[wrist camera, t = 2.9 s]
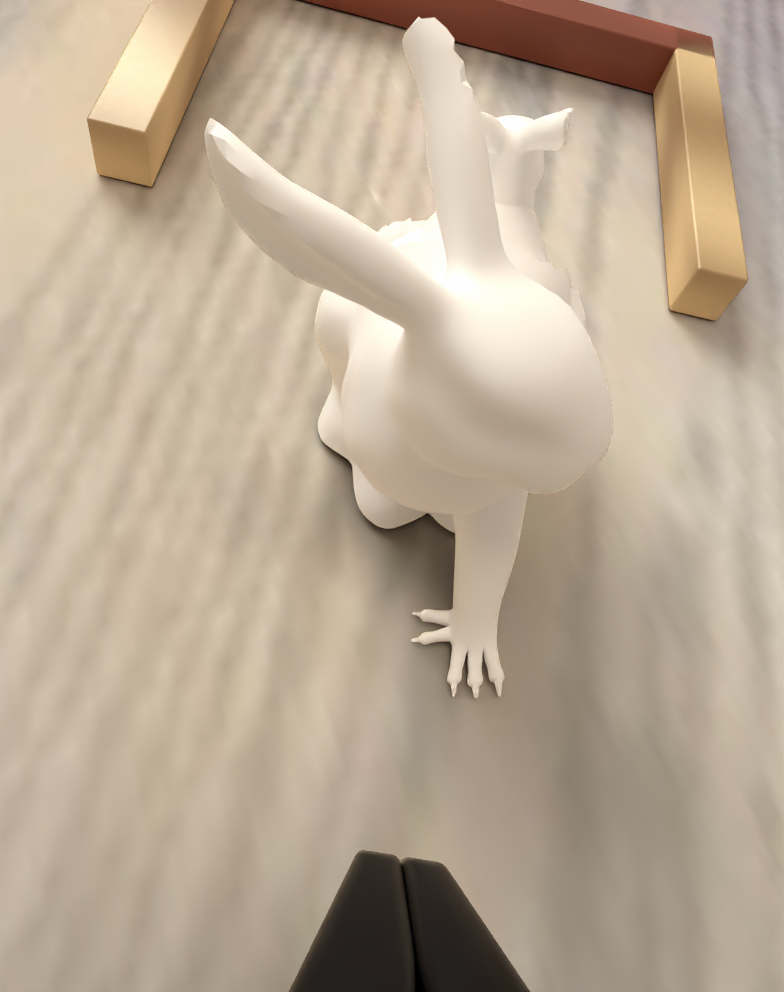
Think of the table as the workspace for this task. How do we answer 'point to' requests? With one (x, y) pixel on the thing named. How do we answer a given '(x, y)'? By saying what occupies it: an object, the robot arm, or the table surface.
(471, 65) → the table surface
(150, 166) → the bay
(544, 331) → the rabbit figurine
